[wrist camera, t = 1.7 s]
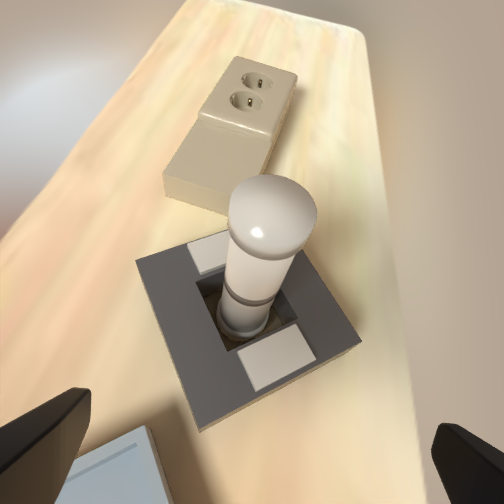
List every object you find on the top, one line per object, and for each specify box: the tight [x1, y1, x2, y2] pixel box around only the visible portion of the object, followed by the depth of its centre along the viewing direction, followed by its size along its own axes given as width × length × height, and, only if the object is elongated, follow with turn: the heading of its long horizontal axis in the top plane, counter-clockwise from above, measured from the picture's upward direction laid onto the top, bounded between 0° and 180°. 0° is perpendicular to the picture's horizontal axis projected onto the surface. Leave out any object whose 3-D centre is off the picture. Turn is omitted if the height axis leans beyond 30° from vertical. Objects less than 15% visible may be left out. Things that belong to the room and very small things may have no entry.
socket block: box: [135, 230, 362, 433], centre depth 23 cm, size 11×11×3 cm
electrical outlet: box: [163, 56, 298, 216], centre depth 32 cm, size 7×4×18 cm
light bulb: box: [216, 174, 317, 341], centre depth 19 cm, size 4×4×12 cm
